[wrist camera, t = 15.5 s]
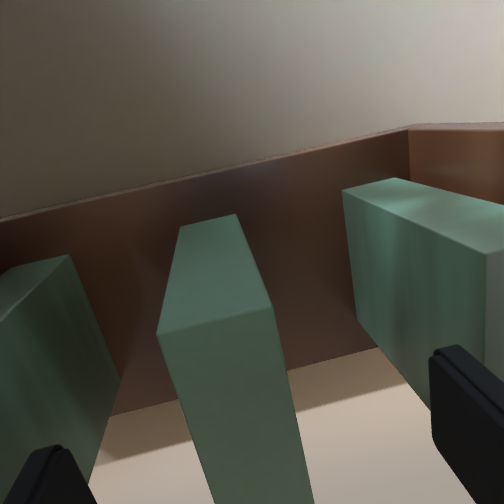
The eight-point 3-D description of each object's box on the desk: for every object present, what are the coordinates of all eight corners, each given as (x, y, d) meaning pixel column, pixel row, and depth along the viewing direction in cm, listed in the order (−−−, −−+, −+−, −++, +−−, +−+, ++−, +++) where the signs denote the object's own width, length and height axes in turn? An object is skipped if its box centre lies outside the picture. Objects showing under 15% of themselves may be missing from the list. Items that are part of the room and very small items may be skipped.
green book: (236, 213, 16) (273, 304, 8) (265, 342, 19) (318, 519, 10) (179, 226, 16) (154, 333, 8) (216, 355, 19) (228, 545, 10)
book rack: (417, 123, 17) (753, 115, 7) (426, 320, 21) (650, 513, 10) (-39, 226, 16) (-490, 411, 6) (56, 415, 20) (-106, 739, 9)
